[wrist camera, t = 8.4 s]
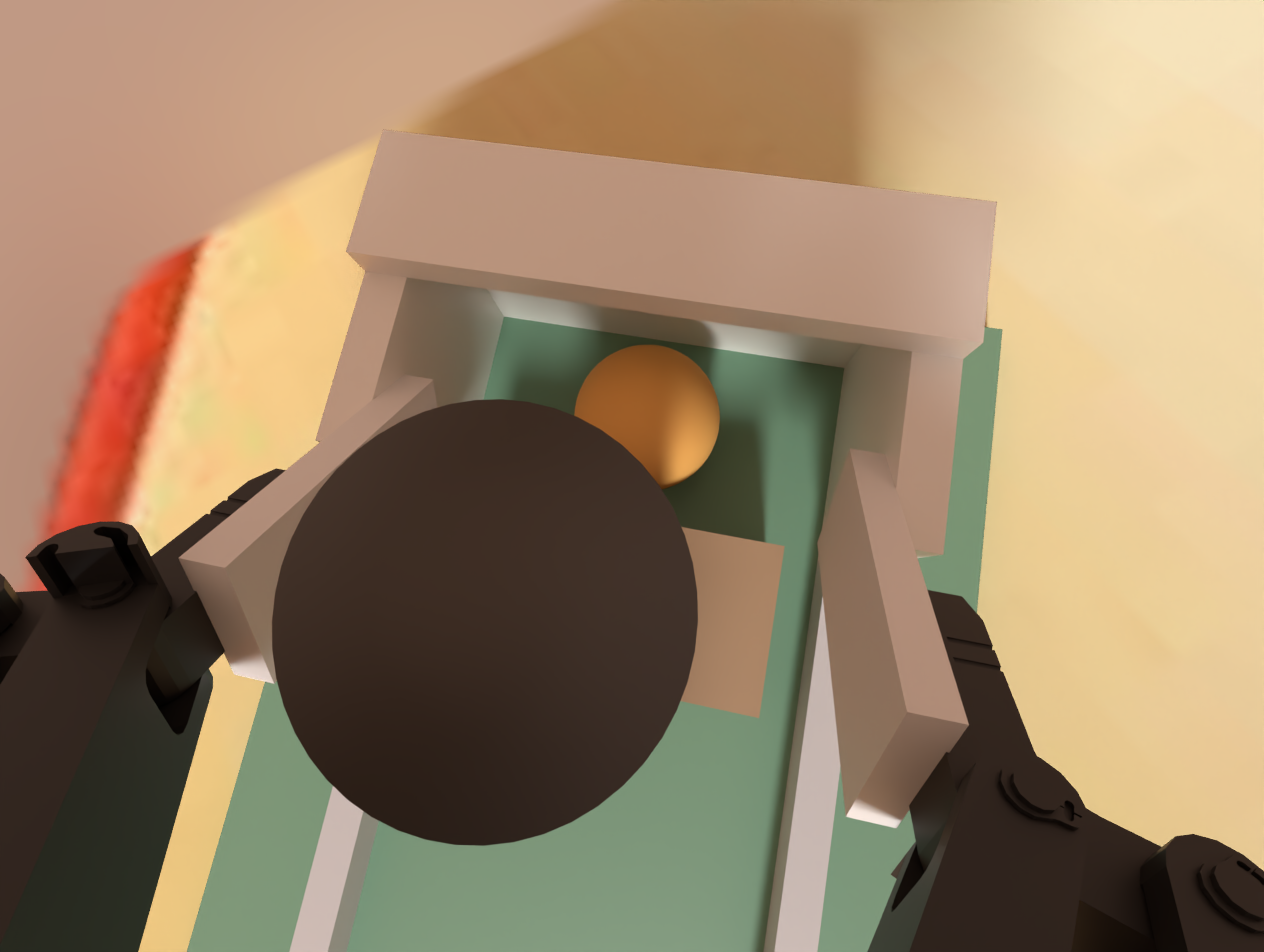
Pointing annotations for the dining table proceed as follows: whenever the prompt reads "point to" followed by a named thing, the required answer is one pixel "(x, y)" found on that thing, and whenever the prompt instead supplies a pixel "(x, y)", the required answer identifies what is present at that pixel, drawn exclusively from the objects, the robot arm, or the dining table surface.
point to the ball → (654, 409)
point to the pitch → (673, 773)
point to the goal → (674, 283)
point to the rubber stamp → (506, 622)
